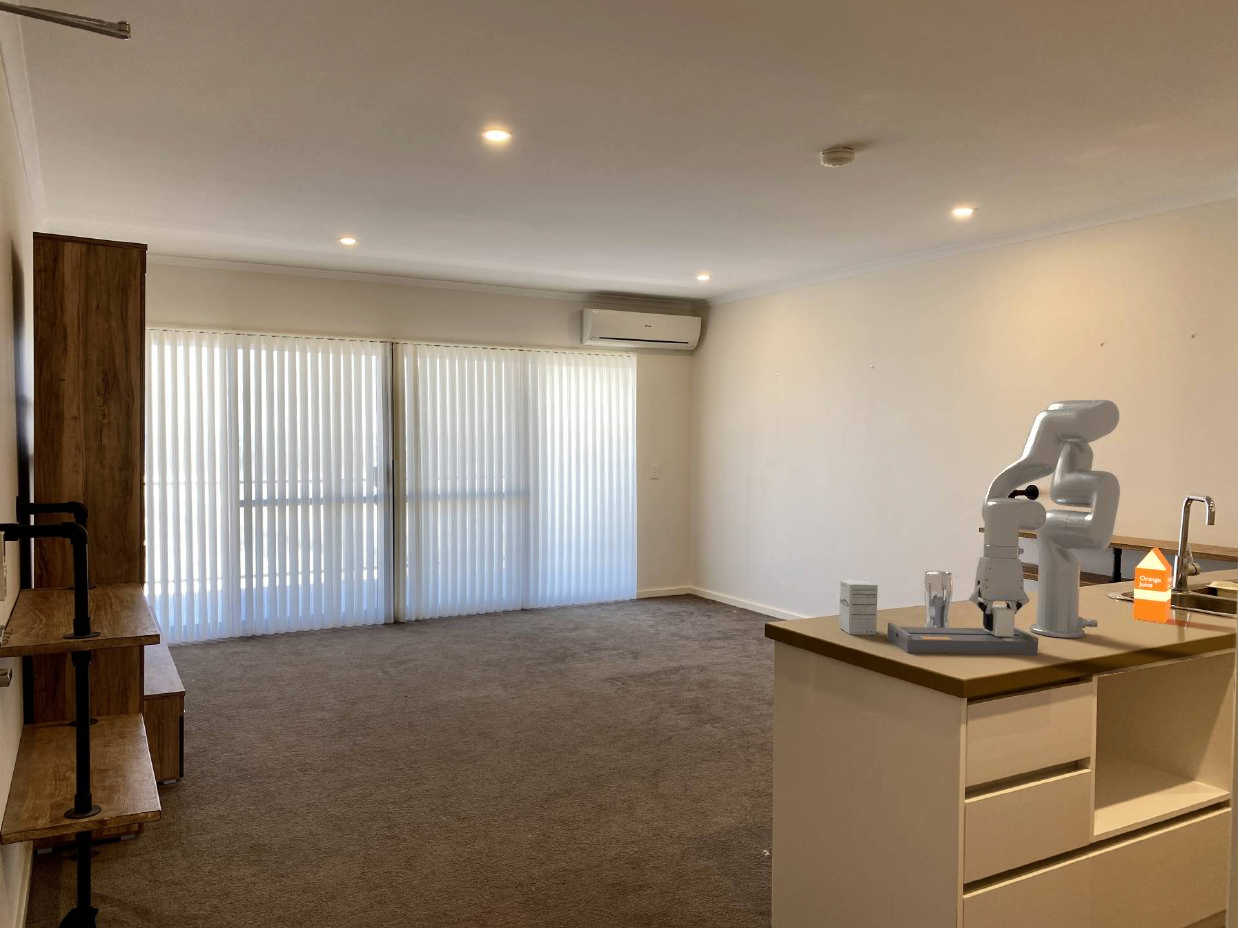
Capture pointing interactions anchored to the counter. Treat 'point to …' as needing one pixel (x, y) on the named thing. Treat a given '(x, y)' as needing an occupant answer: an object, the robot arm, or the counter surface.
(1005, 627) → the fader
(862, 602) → the supplement box
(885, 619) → the counter surface
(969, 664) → the counter surface
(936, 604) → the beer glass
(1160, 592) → the orange juice
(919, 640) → the fader board
